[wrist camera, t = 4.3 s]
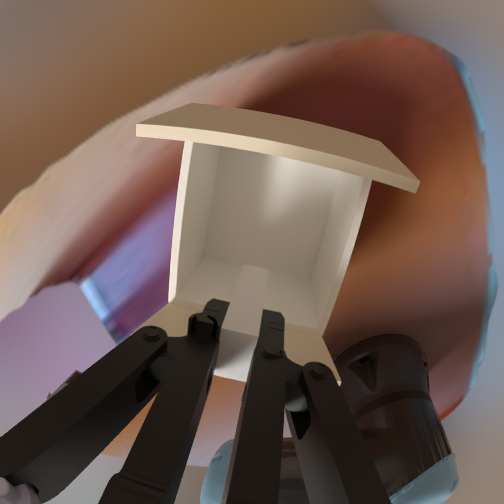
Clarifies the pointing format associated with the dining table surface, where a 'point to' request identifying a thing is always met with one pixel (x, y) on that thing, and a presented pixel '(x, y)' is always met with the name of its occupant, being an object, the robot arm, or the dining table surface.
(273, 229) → the carton
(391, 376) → the robot arm
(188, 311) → the far flap
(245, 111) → the near flap
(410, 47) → the dining table surface
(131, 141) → the dining table surface
